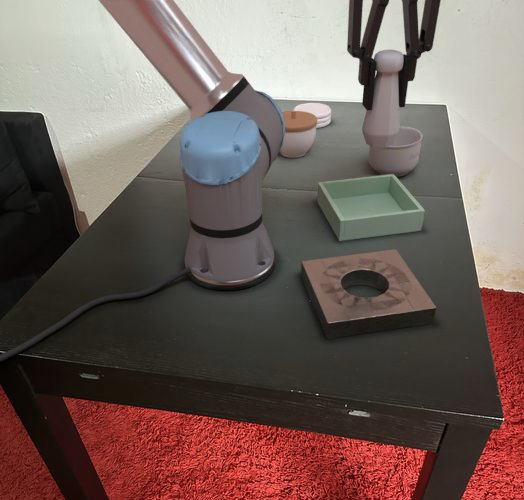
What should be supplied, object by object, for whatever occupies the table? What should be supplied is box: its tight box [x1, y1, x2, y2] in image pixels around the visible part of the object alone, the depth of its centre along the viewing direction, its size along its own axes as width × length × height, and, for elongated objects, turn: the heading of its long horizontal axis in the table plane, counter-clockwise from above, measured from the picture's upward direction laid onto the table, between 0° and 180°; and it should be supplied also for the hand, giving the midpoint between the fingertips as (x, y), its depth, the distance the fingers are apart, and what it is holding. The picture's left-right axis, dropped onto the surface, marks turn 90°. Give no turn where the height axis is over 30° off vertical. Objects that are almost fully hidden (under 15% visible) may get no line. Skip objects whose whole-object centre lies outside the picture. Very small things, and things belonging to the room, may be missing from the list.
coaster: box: [292, 102, 332, 129], centre depth 137 cm, size 10×10×4 cm
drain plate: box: [300, 248, 437, 340], centre depth 81 cm, size 16×16×3 cm
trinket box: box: [280, 110, 318, 159], centre depth 121 cm, size 11×11×9 cm
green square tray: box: [316, 174, 426, 242], centre depth 100 cm, size 16×16×4 cm
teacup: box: [368, 125, 424, 178], centre depth 113 cm, size 14×11×8 cm
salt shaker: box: [361, 49, 404, 148], centre depth 79 cm, size 6×6×13 cm
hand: (383, 105), depth 80 cm, fingers closed on salt shaker, 4 cm apart
